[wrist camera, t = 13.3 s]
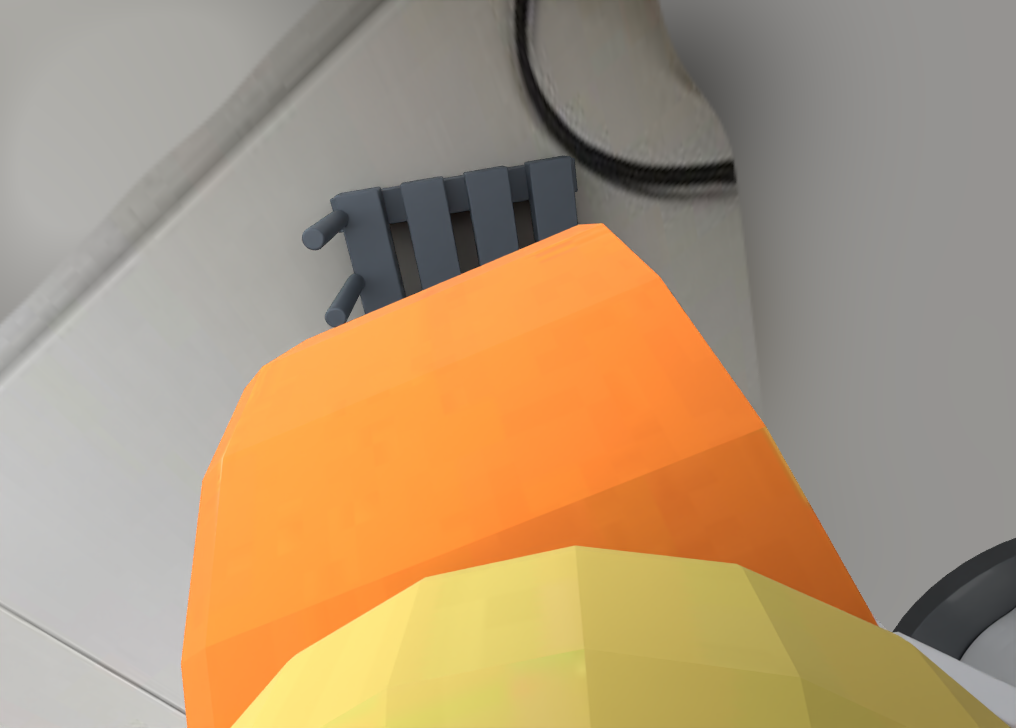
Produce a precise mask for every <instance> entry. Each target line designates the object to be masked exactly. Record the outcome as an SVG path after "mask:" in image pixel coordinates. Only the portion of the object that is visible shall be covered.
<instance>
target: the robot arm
mask: <svg viewBox="0 0 1016 728" xmlns="http://www.w3.org/2000/svg"><path fill="white" fill-rule="evenodd" d="M873 617H874V616H873ZM874 619H875V620H876V622H877V624H878V626H879V627H881V628H883V629H885V628H884V627H883V625H882V624H881V623H880V622H879V621H878V620H877V619H876V618H875V617H874ZM885 630H886V629H885ZM893 633H894V634H896V635H899V636H900V637H902V638H903V639H905V640H906V641H908V642H910V643H911V644H912V645H913V646H915V647H916V648H917V649H918V650H919V651H921V652H922V653H923V654H924V655H925V656H927V657H928V658H929V659H930V660H931V661H932V662H934V663H935V664H936V665H937V666H938V667H940V668H941V669H942V670H943V671H944V672H946V673H947V674H948V675H949V676H950V677H951V678H953V679H954V680H955V681H956V682H957V683H959V684H960V685H961V686H962V687H963V688H965V689H966V690H967V691H968V692H969V693H970V694H972V695H973V696H974V697H975V698H976V699H978V700H979V701H980V702H981V703H982V704H984V705H985V706H986V707H987V708H988V709H989V710H991V711H992V712H993V713H994V714H995V715H997V716H998V717H999V718H1000V719H1001V720H1003V721H1004V722H1005V723H1006V724H1007V725H1008V726H1010V727H1011V728H1016V608H1014V609H1013V610H1012V611H1010V612H1009V613H1008V614H1006V615H1005V616H1003V617H1002V618H1000V619H999V620H997V621H996V622H995V623H993V624H992V625H991V626H989V627H988V628H987V629H986V630H985V631H984V632H982V633H981V634H980V635H979V636H978V637H977V638H976V639H975V641H974V642H973V643H972V644H971V645H970V646H969V648H968V649H967V650H966V652H965V653H964V655H963V657H962V658H961V660H960V661H959V660H957V659H955V658H953V657H951V656H949V655H947V654H944V653H942V652H940V651H938V650H936V649H934V648H932V647H930V646H928V645H925V644H923V643H921V642H919V641H917V640H915V639H913V638H911V637H909V636H906V635H904V634H902V633H900V632H893Z"/></svg>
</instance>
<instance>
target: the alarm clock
mask: <svg viewBox="0 0 1016 728" xmlns="http://www.w3.org/2000/svg"><path fill="white" fill-rule="evenodd" d="M181 668H182V678H183V688H184V698H185V708H186V718H187V728H1011V727H1010V726H1008V725H1007V724H1006V723H1005V722H1004V721H1003V720H1001V719H1000V718H999V717H998V716H997V715H995V714H994V713H993V712H992V711H991V710H989V709H988V708H987V707H986V706H985V705H984V704H982V703H981V702H980V701H979V700H978V699H976V698H975V697H974V696H973V695H972V694H970V693H969V692H968V691H967V690H966V689H965V688H963V687H962V686H961V685H960V684H959V683H957V682H956V681H955V680H954V679H953V678H951V677H950V676H949V675H948V674H947V673H946V672H944V671H943V670H942V669H941V668H940V667H938V666H937V665H936V664H935V663H934V662H932V661H931V660H930V659H929V658H928V657H927V656H925V655H924V654H923V653H922V652H921V651H919V650H918V649H917V648H916V647H915V646H913V645H912V644H911V643H910V642H908V641H906V640H905V639H903V638H902V637H900V636H899V635H896V634H894V633H892V632H890V631H887V630H885V629H883V628H881V627H879V626H878V624H877V622H876V620H875V619H874V617H873V615H872V613H871V612H870V610H869V608H868V606H867V605H866V603H865V601H864V599H863V597H862V596H861V594H860V592H859V590H858V589H857V587H856V585H855V583H854V582H853V580H852V578H851V576H850V575H849V573H848V571H847V569H846V568H845V566H844V564H843V562H842V560H841V559H840V557H839V555H838V553H837V551H836V550H835V548H834V546H833V544H832V543H831V541H830V539H829V537H828V535H827V534H826V532H825V530H824V528H823V527H822V525H821V523H820V521H819V520H818V518H817V516H816V514H815V513H814V511H813V509H812V507H811V505H810V504H809V502H808V500H807V498H806V497H805V495H804V493H803V491H802V489H801V488H800V486H799V484H798V482H797V481H796V479H795V477H794V476H793V474H792V472H791V470H790V468H789V466H788V465H787V463H786V461H785V459H784V458H783V456H782V454H781V452H780V451H779V449H778V447H777V445H776V443H775V442H774V440H773V438H772V436H771V435H770V433H769V431H768V429H767V427H766V426H765V424H764V423H763V422H762V420H761V419H760V417H759V416H758V415H757V413H756V412H755V410H754V409H753V408H752V406H751V405H750V403H749V402H748V400H747V399H746V398H745V396H744V395H743V393H742V392H741V391H740V389H739V388H738V386H737V385H736V384H735V382H734V381H733V379H732V378H731V377H730V375H729V374H728V372H727V371H726V369H725V368H724V367H723V365H722V364H721V362H720V361H719V360H718V358H717V357H716V355H715V354H714V353H713V351H712V350H711V348H710V347H709V346H708V344H707V343H706V341H705V340H704V338H703V337H702V336H701V334H700V333H699V331H698V330H697V329H696V327H695V326H694V324H693V323H692V322H691V320H690V319H689V317H688V316H687V315H686V313H685V312H684V310H683V309H682V307H681V306H680V305H679V303H678V302H677V300H676V299H675V298H674V296H673V295H672V293H671V292H670V291H669V289H668V288H667V286H666V285H665V284H664V282H663V281H662V279H661V278H660V277H659V276H658V275H657V274H656V273H655V272H654V271H653V270H652V269H651V268H650V267H649V266H648V265H646V264H645V263H644V262H643V261H642V260H641V259H640V258H639V257H638V256H637V255H636V254H635V253H634V252H633V251H632V250H630V249H629V248H628V247H627V246H626V245H625V244H624V243H623V242H622V241H621V240H620V239H619V238H618V237H617V236H616V235H614V234H613V233H612V232H611V231H610V230H609V229H608V228H607V227H606V226H605V225H604V224H603V223H601V224H584V225H577V226H574V227H572V228H570V229H567V230H565V231H563V232H560V233H558V234H555V235H553V236H551V237H548V238H546V239H544V240H541V241H539V242H536V243H534V244H532V245H529V246H527V247H525V248H522V249H520V250H518V251H515V252H513V253H510V254H508V255H506V256H503V257H501V258H499V259H496V260H494V261H491V262H489V263H487V264H484V265H482V266H480V267H477V268H475V269H473V270H470V271H468V272H465V273H463V274H461V275H458V276H456V277H454V278H451V279H449V280H446V281H444V282H442V283H439V284H437V285H435V286H432V287H430V288H428V289H425V290H423V291H420V292H418V293H416V294H413V295H411V296H409V297H406V298H404V299H401V300H399V301H397V302H394V303H392V304H390V305H387V306H385V307H383V308H380V309H378V310H375V311H373V312H371V313H368V314H366V315H364V316H361V317H359V318H356V319H354V320H352V321H349V322H347V323H345V324H342V325H340V326H338V327H335V328H333V329H330V330H328V331H326V332H323V333H321V334H319V335H316V336H314V337H311V338H309V339H307V340H305V341H303V342H302V343H300V344H299V345H297V346H295V347H294V348H292V349H290V350H289V351H287V352H286V353H284V354H282V355H281V356H279V357H277V358H276V359H274V360H273V361H271V362H269V363H268V364H266V365H264V366H263V367H262V368H261V369H260V370H259V372H258V373H257V374H256V375H255V377H254V378H253V379H252V380H251V382H250V383H249V384H248V385H247V386H246V388H245V389H244V391H243V394H242V396H241V398H240V400H239V402H238V405H237V407H236V409H235V411H234V413H233V415H232V418H231V420H230V422H229V424H228V426H227V428H226V431H225V433H224V435H223V437H222V439H221V442H220V444H219V446H218V448H217V450H216V452H215V455H214V457H213V459H212V461H211V463H210V465H209V468H208V470H207V472H206V474H205V476H204V479H203V481H202V489H201V498H200V506H199V515H198V523H197V532H196V541H195V549H194V558H193V566H192V575H191V583H190V592H189V600H188V609H187V617H186V626H185V634H184V643H183V651H182V660H181Z"/></svg>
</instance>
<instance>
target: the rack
mask: <svg viewBox="0 0 1016 728" xmlns="http://www.w3.org/2000/svg"><path fill="white" fill-rule="evenodd" d="M524 164H525V165H520V166H514V167H508V168H507V167H505V166H499V167H493V168H487V169H481V170H475V171H469V172H464V173H463V174H464V175H460V176H455V177H449V178H443V177H442V176H439V177H433V178H428V179H422V180H416V181H410V182H404V183H402V184H401V185H400V186H395V187H389V188H383V189H381V188H380V187H374V188H368V189H362V190H356V191H351V192H345V193H340V194H338V195H336V196H335V197H334V198H332V199H330V202H331V206H332V209H333V212H332V213H330V214H329V215H327V216H326V217H324V218H323V219H321V220H320V221H318V222H317V223H315V224H314V225H312V226H311V227H309V228H308V229H306V230H305V231H304V232H303V235H302V241H303V243H304V245H305V246H306V247H307V248H309V249H311V250H319V249H321V248H322V247H323V246H324V245H325V244H326V243H327V242H328V241H330V240H331V239H332V238H333V237H334V236H335V235H336V234H337V233H338V232H339V233H341V232H344V236H345V239H346V243H347V247H348V251H349V255H350V258H351V262H352V266H353V270H354V274H353V275H351V276H349V278H348V279H347V281H346V282H345V284H344V286H343V287H342V289H341V290H340V292H339V293H338V295H337V296H336V298H335V300H334V301H333V303H332V304H331V306H330V307H329V309H328V310H327V312H326V314H325V319H326V322H327V323H328V324H329V325H330V326H332V327H338V326H340V325H342V324H345V323H346V321H347V319H348V317H349V315H350V313H351V311H352V309H353V307H354V305H355V303H356V301H357V299H358V297H359V295H360V296H361V300H362V304H363V308H364V312H365V315H366V314H368V313H371V312H373V311H375V310H378V309H380V308H383V307H385V306H387V305H390V304H392V303H394V302H397V301H399V300H401V299H404V298H406V295H405V291H404V286H403V282H402V277H401V273H400V269H399V264H398V260H397V256H396V251H395V247H394V243H393V238H392V234H391V230H390V225H389V224H393V223H399V222H405V221H408V225H409V230H410V235H411V239H412V244H413V248H414V253H415V258H416V262H417V267H418V271H419V276H420V281H421V285H422V290H425V289H428V288H430V287H432V286H435V285H437V284H439V283H442V282H444V281H446V280H449V279H451V278H454V277H456V276H458V275H461V271H460V265H459V260H458V255H457V249H456V244H455V239H454V233H453V228H452V223H451V217H450V214H451V213H457V212H463V211H468V210H470V215H471V220H472V226H473V232H474V238H475V243H476V249H477V255H478V261H479V267H480V266H482V265H484V264H487V263H489V262H491V261H494V260H496V259H499V258H501V257H503V256H506V255H508V254H510V253H513V252H515V251H518V250H519V244H518V237H517V230H516V223H515V216H514V209H513V203H515V202H521V201H526V200H529V202H530V210H531V217H532V225H533V232H534V240H535V243H536V242H539V241H541V240H544V239H546V238H548V237H551V236H553V235H555V234H558V233H560V232H563V231H565V230H567V229H570V228H572V227H574V226H577V225H578V222H577V212H576V202H575V192H577V191H578V189H577V179H576V169H575V159H574V158H571V157H570V156H558V157H552V158H546V159H540V160H534V161H528V162H525V163H524Z"/></svg>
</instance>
